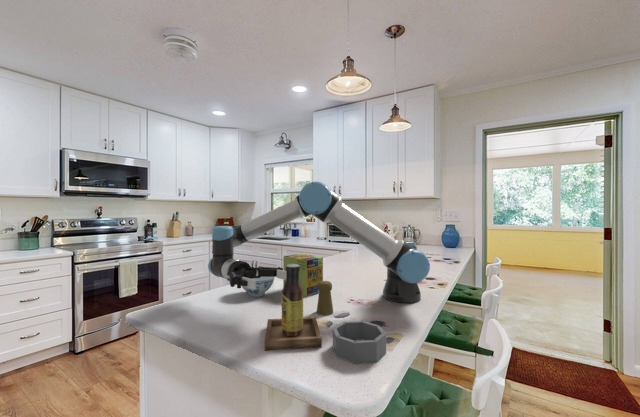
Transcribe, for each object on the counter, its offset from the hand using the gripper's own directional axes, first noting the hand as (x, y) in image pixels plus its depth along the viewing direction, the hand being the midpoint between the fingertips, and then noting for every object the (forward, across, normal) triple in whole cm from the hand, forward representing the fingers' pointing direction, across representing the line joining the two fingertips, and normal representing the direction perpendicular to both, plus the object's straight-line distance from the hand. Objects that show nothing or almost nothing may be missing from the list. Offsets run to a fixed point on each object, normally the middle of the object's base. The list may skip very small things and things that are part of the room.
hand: (273, 280), depth 90 cm
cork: (+3, -21, -15) cm, 26 cm away
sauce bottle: (+9, 0, -14) cm, 16 cm away
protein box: (-22, -34, -15) cm, 43 cm away
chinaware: (-33, -17, -15) cm, 40 cm away
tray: (+9, 0, -15) cm, 17 cm away
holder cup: (+27, -6, -15) cm, 32 cm away
